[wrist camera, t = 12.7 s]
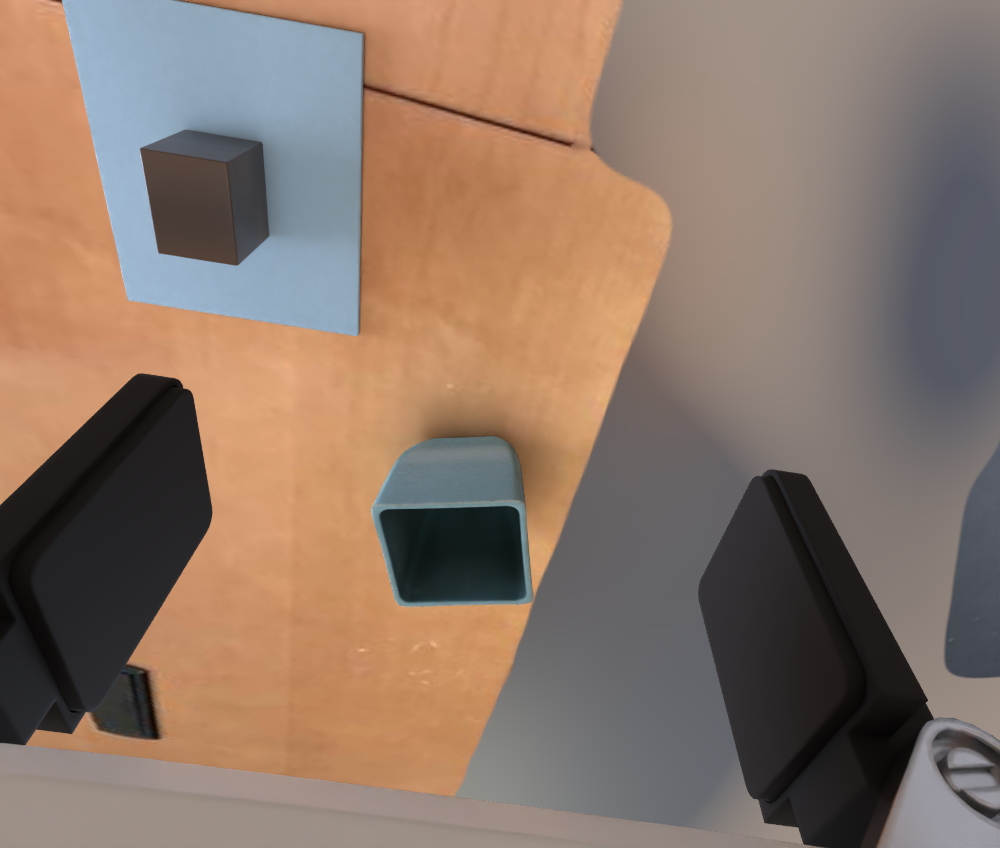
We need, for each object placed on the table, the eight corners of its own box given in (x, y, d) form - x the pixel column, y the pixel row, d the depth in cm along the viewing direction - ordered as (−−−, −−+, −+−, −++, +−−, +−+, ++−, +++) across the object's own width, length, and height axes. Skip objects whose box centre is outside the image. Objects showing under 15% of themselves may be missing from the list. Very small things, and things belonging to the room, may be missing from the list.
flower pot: (528, 409, 41) (525, 501, 34) (534, 507, 46) (533, 606, 39) (398, 414, 42) (367, 505, 35) (418, 510, 47) (396, 607, 40)
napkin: (62, -21, 29) (56, -21, 28) (364, 33, 29) (362, 33, 29) (131, 297, 38) (127, 300, 38) (359, 333, 39) (357, 336, 38)
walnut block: (184, 128, 32) (138, 147, 28) (262, 142, 32) (226, 162, 28) (198, 225, 35) (157, 254, 31) (269, 236, 35) (237, 266, 31)
